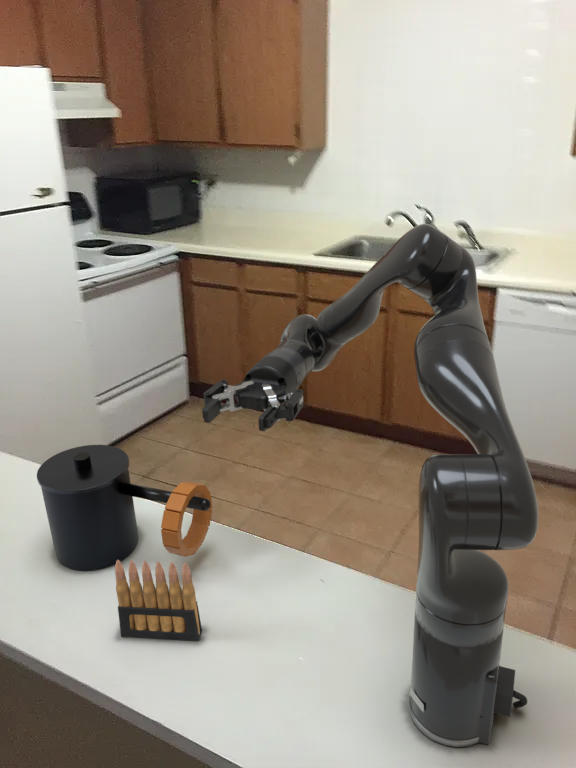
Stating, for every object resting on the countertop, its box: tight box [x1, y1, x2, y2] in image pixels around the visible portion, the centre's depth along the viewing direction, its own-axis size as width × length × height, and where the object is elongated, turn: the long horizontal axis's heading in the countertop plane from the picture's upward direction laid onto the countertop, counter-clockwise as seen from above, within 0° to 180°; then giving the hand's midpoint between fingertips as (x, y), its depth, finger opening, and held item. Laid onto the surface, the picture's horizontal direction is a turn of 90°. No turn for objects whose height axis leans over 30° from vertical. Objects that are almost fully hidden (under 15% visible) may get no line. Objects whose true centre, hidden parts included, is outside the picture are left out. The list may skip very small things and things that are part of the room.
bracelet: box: [160, 481, 213, 557], centre depth 98 cm, size 3×10×10 cm, turn 159°
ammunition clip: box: [114, 559, 203, 642], centre depth 87 cm, size 11×2×12 cm, turn 84°
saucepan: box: [36, 444, 211, 572], centre depth 102 cm, size 28×14×16 cm, turn 69°
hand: (233, 421), depth 93 cm, fingers open, 8 cm apart
